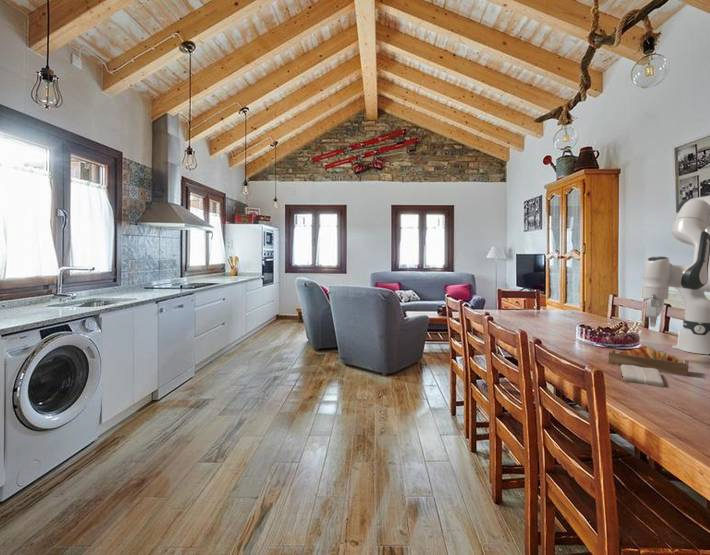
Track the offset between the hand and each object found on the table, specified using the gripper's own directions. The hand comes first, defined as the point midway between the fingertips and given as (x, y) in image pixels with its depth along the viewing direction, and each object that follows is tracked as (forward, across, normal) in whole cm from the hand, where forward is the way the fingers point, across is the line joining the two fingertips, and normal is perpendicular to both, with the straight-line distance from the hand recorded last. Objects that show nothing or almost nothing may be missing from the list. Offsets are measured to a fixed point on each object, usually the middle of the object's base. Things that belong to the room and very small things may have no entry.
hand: (652, 326), depth 164 cm
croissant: (+15, -8, 0) cm, 17 cm away
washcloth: (+16, -35, 0) cm, 38 cm away
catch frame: (+14, -17, 0) cm, 22 cm away
